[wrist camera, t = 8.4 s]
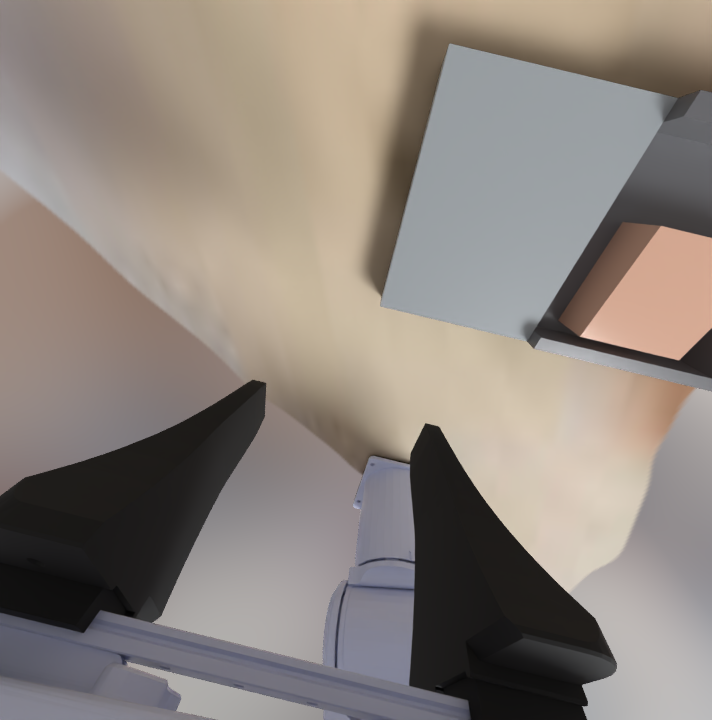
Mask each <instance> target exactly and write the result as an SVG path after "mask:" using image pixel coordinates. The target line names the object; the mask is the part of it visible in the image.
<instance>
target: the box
mask: <svg viewBox="0 0 712 720" xmlns="http://www.w3.org/2000/svg"><path fill="white" fill-rule="evenodd" d="M622 222H628V223H638V224H647V225H657V226H664V227H668V228H672V229H676V230H680V231H685V232H689V233H693V234H697V235H701V236H705V237H710V238H712V92H707V91H703V90H699V91H697V92H694V93H691V94H688V95H685V96H683V97H680V98H678V99H677V101H676V102H675V104H674V106H673V107H672V109H671V110H670V112H669V114H668V115H667V117H666V118H665V120H664V122H663V123H662V125H661V126H660V128H659V130H658V131H657V133H656V135H655V136H654V138H653V139H652V141H651V143H650V144H649V146H648V147H647V149H646V151H645V152H644V154H643V156H642V157H641V159H640V160H639V162H638V164H637V165H636V167H635V168H634V170H633V172H632V173H631V175H630V177H629V178H628V180H627V181H626V183H625V185H624V186H623V188H622V189H621V191H620V193H619V194H618V196H617V197H616V199H615V201H614V202H613V204H612V206H611V207H610V209H609V210H608V212H607V214H606V215H605V217H604V218H603V220H602V222H601V223H600V225H599V227H598V228H597V230H596V231H595V233H594V235H593V236H592V238H591V239H590V241H589V243H588V244H587V246H586V248H585V249H584V251H583V252H582V254H581V256H580V257H579V259H578V260H577V262H576V264H575V265H574V267H573V268H572V270H571V272H570V273H569V275H568V277H567V278H566V280H565V281H564V283H563V285H562V286H561V288H560V289H559V291H558V293H557V294H556V296H555V298H554V299H553V301H552V302H551V304H550V306H549V307H548V309H547V310H546V312H545V314H544V315H543V317H542V319H541V320H540V322H539V323H538V325H537V327H536V328H535V330H534V331H533V333H532V335H531V336H530V338H529V339H528V341H527V342H528V343H529V344H530V345H531V346H532V347H533V348H534V349H537V350H541V351H545V352H549V353H554V354H558V355H562V356H566V357H570V358H574V359H579V360H583V361H587V362H591V363H595V364H599V365H604V366H608V367H612V368H616V369H620V370H624V371H629V372H633V373H637V374H641V375H645V376H649V377H654V378H658V379H662V380H666V381H670V382H674V383H679V384H683V385H687V386H691V387H695V388H699V389H704V390H708V391H712V328H711V329H710V330H709V331H708V332H707V333H706V334H705V335H704V336H703V337H702V338H701V339H700V340H699V341H698V342H697V343H696V344H695V345H694V346H693V347H692V348H691V349H690V350H689V351H688V352H687V353H686V354H685V355H684V356H683V357H682V358H681V359H680V360H675V359H671V358H667V357H663V356H658V355H654V354H650V353H646V352H642V351H638V350H633V349H629V348H625V347H621V346H617V345H612V344H608V343H604V342H600V341H596V340H592V339H587V338H583V337H580V336H578V335H577V334H576V333H574V332H573V331H572V330H570V329H569V328H568V327H566V326H565V325H564V324H562V323H561V322H560V321H558V320H559V318H560V317H561V315H562V314H563V312H564V311H565V309H566V307H567V306H568V304H569V303H570V301H571V300H572V298H573V297H574V295H575V294H576V292H577V291H578V289H579V288H580V286H581V285H582V283H583V282H584V280H585V279H586V277H587V276H588V274H589V273H590V271H591V269H592V268H593V266H594V265H595V263H596V262H597V260H598V259H599V257H600V256H601V254H602V253H603V251H604V250H605V248H606V247H607V245H608V244H609V242H610V241H611V239H612V238H613V236H614V234H615V233H616V231H617V230H618V228H619V227H620V225H621V224H622Z"/></svg>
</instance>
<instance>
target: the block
mask: <svg viewBox="0 0 712 720" xmlns="http://www.w3.org/2000/svg"><path fill="white" fill-rule="evenodd" d="M558 321H560V322H561V323H562V324H564V325H565V326H566V327H568V328H569V329H570V330H572V331H573V332H574V333H576V334H577V335H578V336H580V337H583V338H587V339H592V340H596V341H600V342H604V343H608V344H612V345H617V346H621V347H625V348H629V349H633V350H638V351H642V352H646V353H650V354H654V355H658V356H663V357H667V358H671V359H675V360H680V359H681V358H682V357H683V356H684V355H685V354H686V353H687V352H688V351H689V350H690V349H691V348H692V347H693V346H694V345H695V344H696V343H697V342H698V341H699V340H700V339H701V338H702V337H703V336H704V335H705V334H706V333H707V332H708V331H709V330H710V329H711V328H712V238H710V237H705V236H701V235H697V234H693V233H689V232H685V231H680V230H676V229H672V228H668V227H664V226H657V225H647V224H638V223H628V222H622V224H621V225H620V227H619V228H618V230H617V231H616V233H615V234H614V236H613V238H612V239H611V241H610V242H609V244H608V245H607V247H606V248H605V250H604V251H603V253H602V254H601V256H600V257H599V259H598V260H597V262H596V263H595V265H594V266H593V268H592V269H591V271H590V273H589V274H588V276H587V277H586V279H585V280H584V282H583V283H582V285H581V286H580V288H579V289H578V291H577V292H576V294H575V295H574V297H573V298H572V300H571V301H570V303H569V304H568V306H567V307H566V309H565V311H564V312H563V314H562V315H561V317H560V318H559V320H558Z"/></svg>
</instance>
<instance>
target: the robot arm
mask: <svg viewBox="0 0 712 720" xmlns="http://www.w3.org/2000/svg"><path fill="white" fill-rule="evenodd" d="M265 398H266V383H264V382H260V381H256V380H251V381H250V382H248V383H246V384H245V385H243V386H242V387H240V388H239V389H237V390H236V391H234V392H233V393H231V394H229V395H228V396H226V397H225V398H223V399H221V400H220V401H218V402H217V403H215V404H213V405H212V406H210V407H208V408H207V409H205V410H203V411H201V412H199V413H198V414H196V415H194V416H192V417H190V418H189V419H187V420H185V421H183V422H181V423H179V424H177V425H175V426H173V427H171V428H168V429H166V430H164V431H162V432H160V433H158V434H155V435H153V436H151V437H148V438H145V439H143V440H141V441H138V442H135V443H133V444H130V445H128V446H126V447H123V448H120V449H117V450H115V451H112V452H109V453H106V454H103V455H100V456H97V457H94V458H91V459H88V460H85V461H82V462H78V463H75V464H72V465H68V466H65V467H61V468H58V469H54V470H51V471H48V472H44V473H40V474H36V475H33V476H29V477H25V478H24V479H22V480H21V481H20V482H18V483H17V484H16V485H14V486H13V487H12V488H10V489H9V490H8V491H6V492H5V493H4V494H2V495H1V496H0V720H216V719H211V718H206V717H202V716H197V715H192V714H187V713H182V712H177V711H176V710H177V707H178V705H179V703H180V700H181V696H180V694H179V693H177V692H175V691H173V690H172V689H170V688H169V687H168V682H167V680H166V679H163V678H160V677H157V676H155V675H152V674H149V673H146V672H143V671H140V670H137V669H134V668H132V667H128V665H127V662H131V663H136V664H140V665H144V666H148V667H152V668H156V669H160V670H164V671H168V672H172V673H177V674H181V675H185V676H189V677H193V678H197V679H201V680H205V681H209V682H213V683H217V684H221V685H225V686H230V687H234V688H238V689H242V690H247V691H250V692H255V693H259V694H262V695H266V696H270V697H275V698H279V699H283V700H287V701H291V702H295V703H299V704H303V705H307V706H311V707H315V708H320V709H323V710H324V714H323V718H324V720H587V719H586V716H585V713H584V711H583V707H582V706H588V701H587V698H586V696H585V693H584V690H583V688H582V685H583V684H586V683H590V682H593V681H597V680H600V679H604V678H606V677H609V676H611V675H612V674H613V673H614V672H615V671H616V669H617V663H616V661H615V659H614V657H613V654H612V653H611V650H610V648H609V646H608V644H607V642H606V640H605V638H604V636H603V634H602V631H601V629H600V627H599V625H598V623H597V622H596V620H595V618H594V617H593V616H592V615H591V614H590V613H588V611H587V610H585V609H584V608H583V607H582V606H581V605H580V604H579V603H578V602H577V601H576V600H575V599H574V598H573V597H572V596H571V595H569V594H568V593H567V592H566V591H565V590H564V589H563V588H562V587H561V586H560V585H559V584H558V583H557V582H556V581H555V580H554V579H553V578H552V577H551V576H550V575H549V574H548V573H547V572H546V571H545V570H544V569H543V568H542V567H541V566H540V565H539V564H538V563H537V562H536V561H535V560H534V558H533V557H532V556H531V555H530V554H529V553H528V552H527V551H526V550H525V549H524V548H523V546H522V545H521V544H520V543H519V542H518V541H517V540H516V538H515V537H514V536H513V535H512V534H511V533H510V532H509V530H508V529H507V528H506V527H505V526H504V524H503V523H502V522H501V521H500V519H499V518H498V517H497V516H496V514H495V513H494V512H493V510H492V509H491V508H490V507H489V505H488V504H487V503H486V501H485V500H484V499H483V497H482V496H481V494H480V493H479V491H478V490H477V489H476V487H475V486H474V484H473V483H472V481H471V480H470V478H469V477H468V475H467V473H466V472H465V470H464V469H463V467H462V465H461V464H460V462H459V461H458V459H457V457H456V455H455V454H454V452H453V450H452V449H451V447H450V445H449V443H448V442H447V440H446V438H445V436H444V434H443V433H442V431H441V429H440V428H439V427H438V426H434V425H430V424H426V423H425V425H424V427H423V429H422V431H421V433H420V435H419V437H418V440H417V442H416V444H415V446H414V448H413V450H412V452H411V456H410V464H406V463H401V462H397V461H393V460H389V459H385V458H381V457H376V456H371V457H369V459H368V462H367V465H366V468H365V471H364V473H363V476H362V479H361V482H360V485H359V488H358V491H357V493H356V497H355V499H354V502H353V506H354V507H355V508H358V509H361V511H360V521H359V529H358V539H357V547H356V557H355V566H356V567H350V570H349V578H348V580H343V581H341V583H340V584H339V585H338V587H337V588H336V590H335V591H334V593H333V595H332V597H331V600H330V603H329V607H328V612H327V616H326V623H325V630H324V640H323V665H321V664H317V663H313V662H309V661H305V660H301V659H296V658H293V657H289V656H285V655H281V654H276V653H272V652H268V651H264V650H260V649H256V648H252V647H248V646H244V645H240V644H236V643H232V642H228V641H224V640H220V639H215V638H212V637H207V636H203V635H199V634H195V633H191V632H187V631H183V630H179V629H175V628H171V627H167V626H163V625H159V624H155V623H152V622H154V621H155V620H156V619H158V618H159V617H160V616H161V615H162V613H163V610H164V608H165V606H166V604H167V601H168V599H169V597H170V595H171V592H172V590H173V588H174V586H175V584H176V581H177V579H178V577H179V575H180V573H181V570H182V568H183V566H184V564H185V562H186V560H187V558H188V556H189V553H190V551H191V549H192V547H193V545H194V543H195V541H196V539H197V537H198V535H199V533H200V531H201V529H202V527H203V525H204V523H205V521H206V519H207V517H208V515H209V513H210V511H211V509H212V507H213V505H214V503H215V501H216V499H217V497H218V495H219V493H220V492H221V490H222V488H223V486H224V485H225V483H226V481H227V480H228V478H229V477H230V475H231V474H232V472H233V471H234V469H235V467H236V466H237V464H238V463H239V461H240V460H241V458H242V457H243V455H244V453H245V452H246V450H247V449H248V447H249V446H250V444H251V442H252V441H253V439H254V437H255V436H256V434H257V432H258V430H259V428H260V425H261V423H262V421H263V419H264V417H265ZM126 661H127V662H126Z"/></svg>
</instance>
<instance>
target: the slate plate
mask: <svg viewBox="0 0 712 720" xmlns="http://www.w3.org/2000/svg"><path fill="white" fill-rule="evenodd" d="M677 99H678V98H676V97H672V96H667V95H663V94H659V93H655V92H651V91H646V90H642V89H638V88H634V87H630V86H626V85H621V84H617V83H613V82H609V81H605V80H601V79H596V78H592V77H588V76H584V75H580V74H576V73H571V72H567V71H563V70H559V69H555V68H550V67H546V66H542V65H538V64H534V63H530V62H525V61H521V60H517V59H513V58H509V57H505V56H500V55H496V54H492V53H488V52H484V51H480V50H475V49H471V48H467V47H463V46H459V45H454V44H450V43H449V46H448V49H447V52H446V55H445V57H444V60H443V63H442V67H441V71H440V74H439V78H438V82H437V86H436V90H435V94H434V97H433V101H432V105H431V109H430V113H429V117H428V120H427V124H426V128H425V132H424V136H423V140H422V143H421V147H420V151H419V155H418V159H417V163H416V166H415V170H414V174H413V178H412V182H411V186H410V189H409V193H408V197H407V201H406V205H405V208H404V212H403V216H402V220H401V224H400V228H399V231H398V235H397V239H396V243H395V247H394V251H393V254H392V258H391V262H390V266H389V270H388V274H387V277H386V281H385V285H384V289H383V293H382V297H381V304H380V306H381V307H385V308H389V309H394V310H398V311H402V312H406V313H410V314H414V315H419V316H423V317H427V318H431V319H435V320H439V321H444V322H448V323H452V324H456V325H460V326H464V327H469V328H473V329H477V330H481V331H485V332H489V333H494V334H498V335H502V336H506V337H510V338H514V339H519V340H523V341H528V339H529V338H530V336H531V335H532V333H533V331H534V330H535V328H536V327H537V325H538V323H539V322H540V320H541V319H542V317H543V315H544V314H545V312H546V310H547V309H548V307H549V306H550V304H551V302H552V301H553V299H554V298H555V296H556V294H557V293H558V291H559V289H560V288H561V286H562V285H563V283H564V281H565V280H566V278H567V277H568V275H569V273H570V272H571V270H572V268H573V267H574V265H575V264H576V262H577V260H578V259H579V257H580V256H581V254H582V252H583V251H584V249H585V248H586V246H587V244H588V243H589V241H590V239H591V238H592V236H593V235H594V233H595V231H596V230H597V228H598V227H599V225H600V223H601V222H602V220H603V218H604V217H605V215H606V214H607V212H608V210H609V209H610V207H611V206H612V204H613V202H614V201H615V199H616V197H617V196H618V194H619V193H620V191H621V189H622V188H623V186H624V185H625V183H626V181H627V180H628V178H629V177H630V175H631V173H632V172H633V170H634V168H635V167H636V165H637V164H638V162H639V160H640V159H641V157H642V156H643V154H644V152H645V151H646V149H647V147H648V146H649V144H650V143H651V141H652V139H653V138H654V136H655V135H656V133H657V131H658V130H659V128H660V126H661V125H662V123H663V122H664V120H665V118H666V117H667V115H668V114H669V112H670V110H671V109H672V107H673V106H674V104H675V102H676V101H677Z"/></svg>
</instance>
